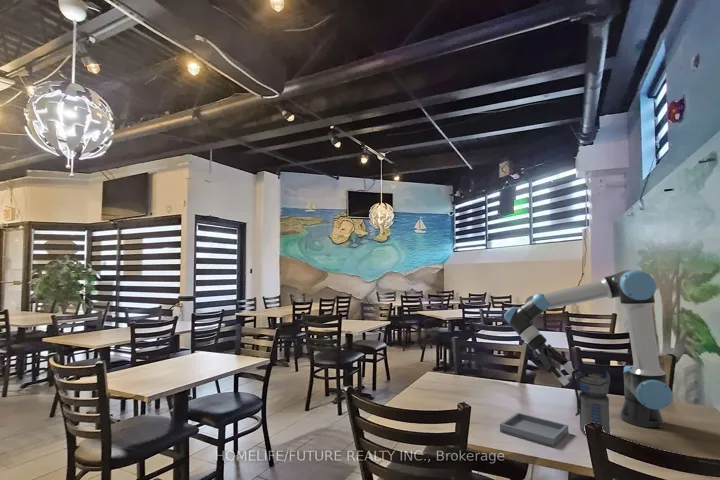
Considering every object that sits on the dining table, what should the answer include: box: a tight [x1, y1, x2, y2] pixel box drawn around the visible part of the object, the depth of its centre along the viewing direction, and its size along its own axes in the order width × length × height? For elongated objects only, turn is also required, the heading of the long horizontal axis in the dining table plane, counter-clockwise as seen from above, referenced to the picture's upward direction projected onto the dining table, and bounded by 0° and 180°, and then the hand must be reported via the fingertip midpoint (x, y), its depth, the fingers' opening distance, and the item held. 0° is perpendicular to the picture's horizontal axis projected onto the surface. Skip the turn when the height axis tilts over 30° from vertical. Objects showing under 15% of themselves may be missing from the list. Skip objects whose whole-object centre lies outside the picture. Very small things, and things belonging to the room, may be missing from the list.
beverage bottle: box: [571, 368, 611, 435], centre depth 158 cm, size 10×13×25 cm
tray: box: [499, 412, 569, 449], centre depth 158 cm, size 20×18×3 cm
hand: (572, 380), depth 163 cm, fingers open, 13 cm apart
